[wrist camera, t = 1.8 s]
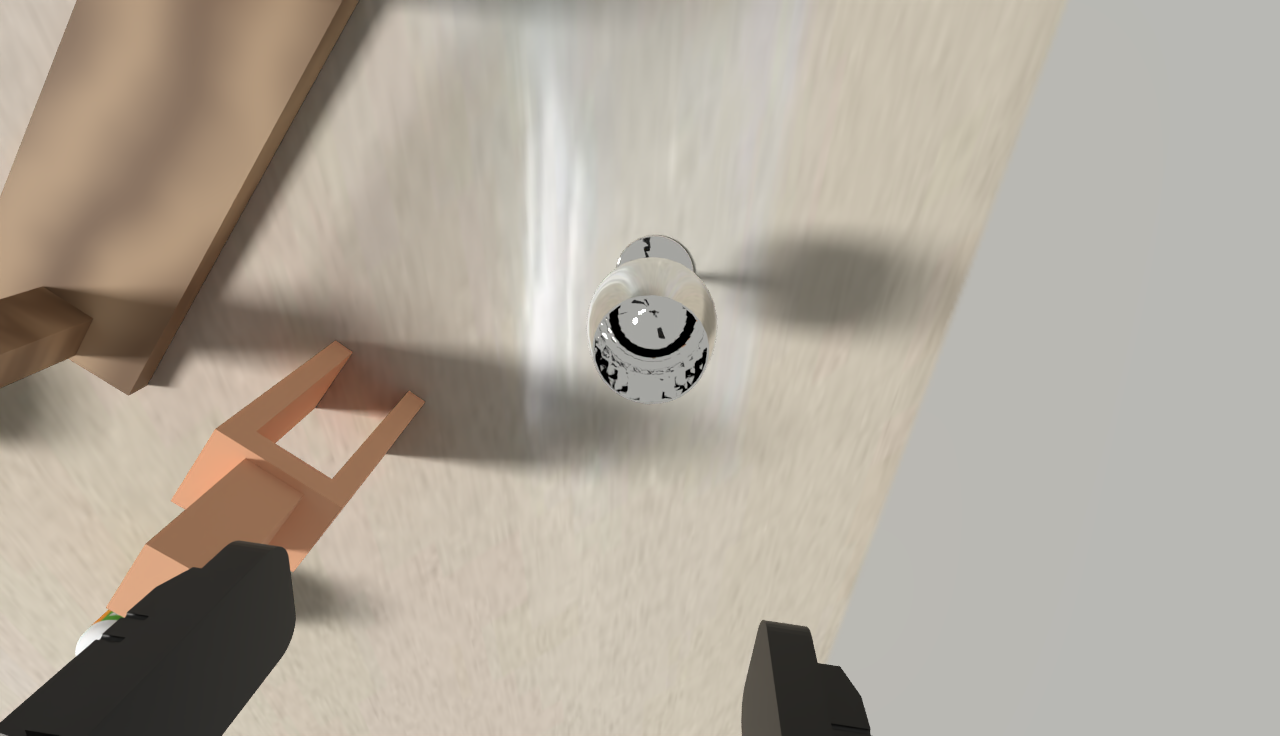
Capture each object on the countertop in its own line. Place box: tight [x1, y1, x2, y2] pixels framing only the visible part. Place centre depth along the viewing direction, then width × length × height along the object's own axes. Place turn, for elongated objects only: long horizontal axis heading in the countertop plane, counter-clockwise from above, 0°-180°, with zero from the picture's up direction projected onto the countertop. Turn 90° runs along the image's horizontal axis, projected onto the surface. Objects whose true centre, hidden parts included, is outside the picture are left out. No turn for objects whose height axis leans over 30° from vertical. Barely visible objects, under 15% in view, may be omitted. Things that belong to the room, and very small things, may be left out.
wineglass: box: [586, 235, 718, 404], centre depth 31 cm, size 6×6×12 cm
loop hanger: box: [106, 340, 425, 618], centre depth 32 cm, size 6×5×17 cm
